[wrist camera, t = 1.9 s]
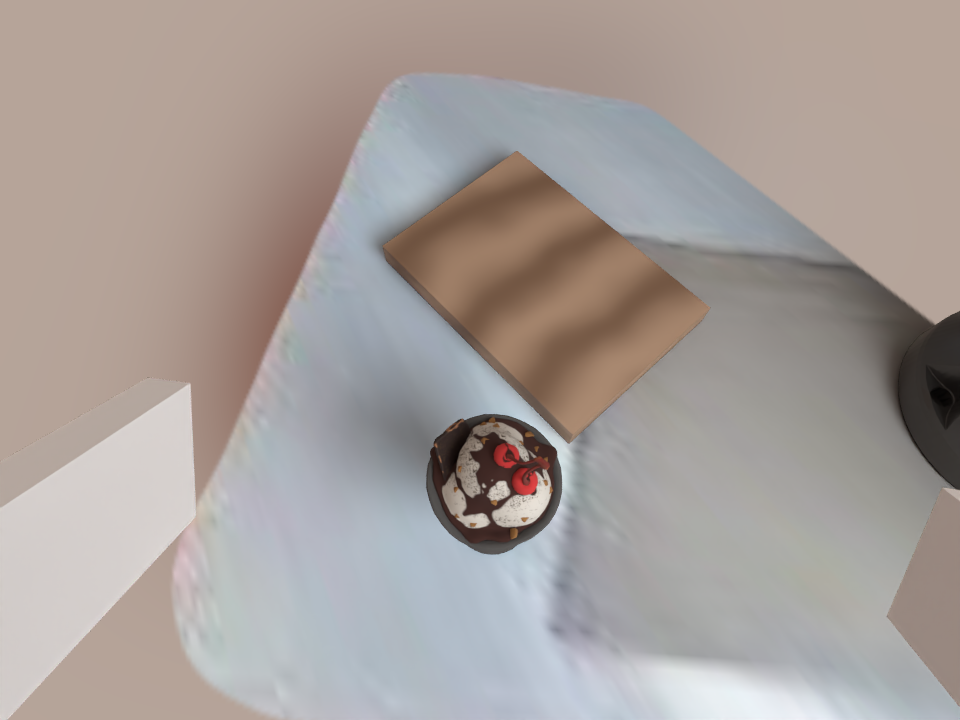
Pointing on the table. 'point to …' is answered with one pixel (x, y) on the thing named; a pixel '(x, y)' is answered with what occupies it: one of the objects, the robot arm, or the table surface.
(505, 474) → the sundae
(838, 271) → the table surface
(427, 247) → the brown flat wooden slab
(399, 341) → the table surface
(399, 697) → the table surface
